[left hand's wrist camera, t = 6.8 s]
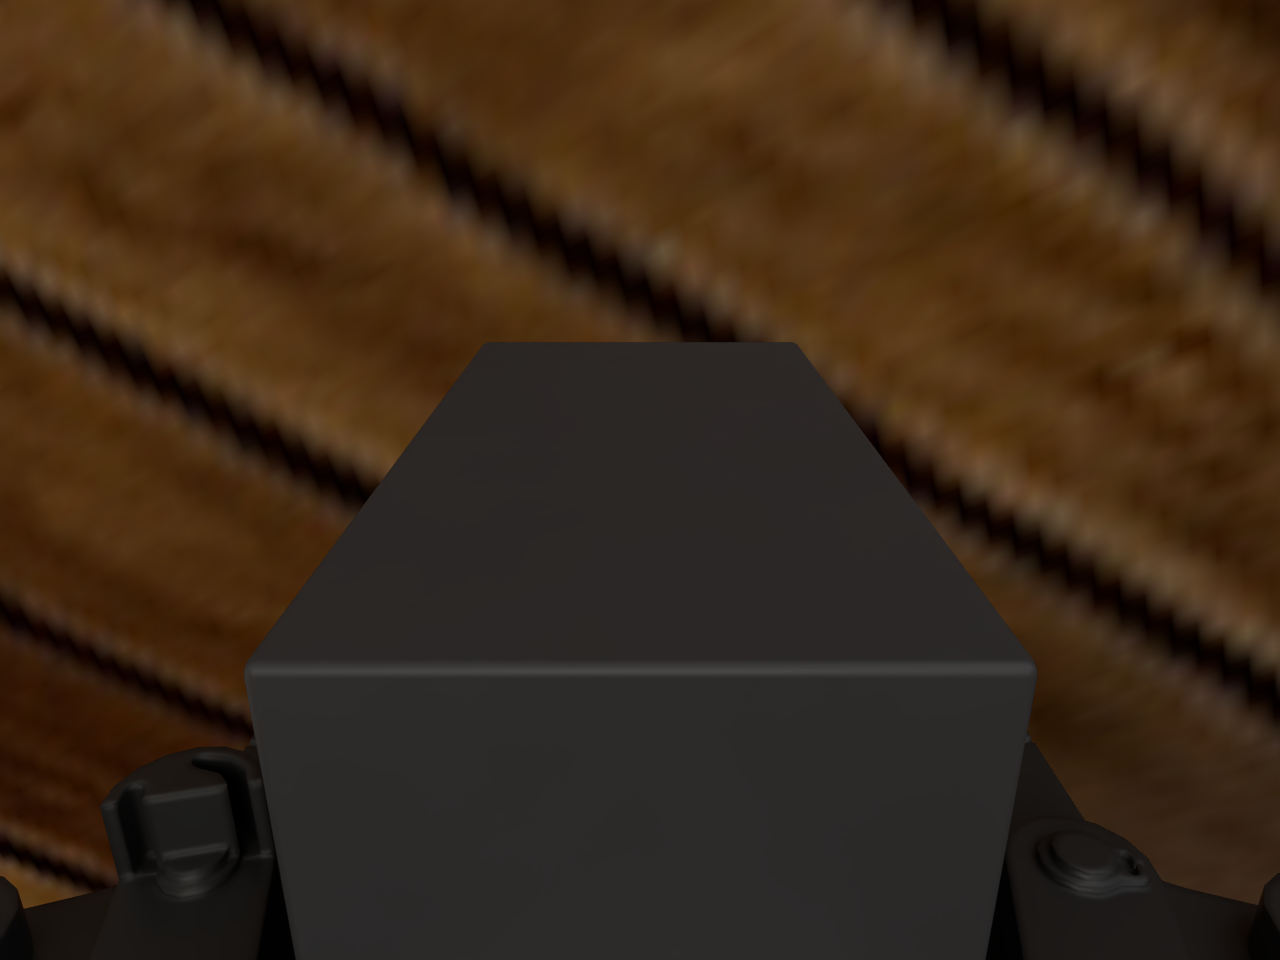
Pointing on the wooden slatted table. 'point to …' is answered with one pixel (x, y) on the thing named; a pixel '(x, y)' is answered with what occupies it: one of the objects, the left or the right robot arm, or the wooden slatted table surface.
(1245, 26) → the wooden slatted table surface
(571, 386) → the bar
